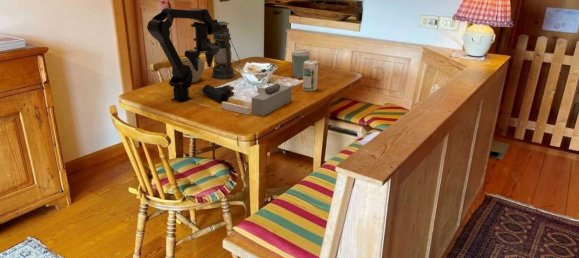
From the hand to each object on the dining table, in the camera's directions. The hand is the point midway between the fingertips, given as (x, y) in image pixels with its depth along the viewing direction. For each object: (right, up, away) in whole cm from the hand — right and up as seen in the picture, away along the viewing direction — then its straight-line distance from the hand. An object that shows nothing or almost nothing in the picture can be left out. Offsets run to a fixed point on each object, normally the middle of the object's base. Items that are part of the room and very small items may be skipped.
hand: (203, 69), depth 205 cm
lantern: (+5, +1, +32) cm, 33 cm away
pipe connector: (+9, -14, -2) cm, 17 cm away
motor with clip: (+28, -17, -10) cm, 34 cm away
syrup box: (+52, -9, +13) cm, 54 cm away
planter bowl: (-11, -3, +22) cm, 25 cm away
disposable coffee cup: (+47, 0, +35) cm, 59 cm away
